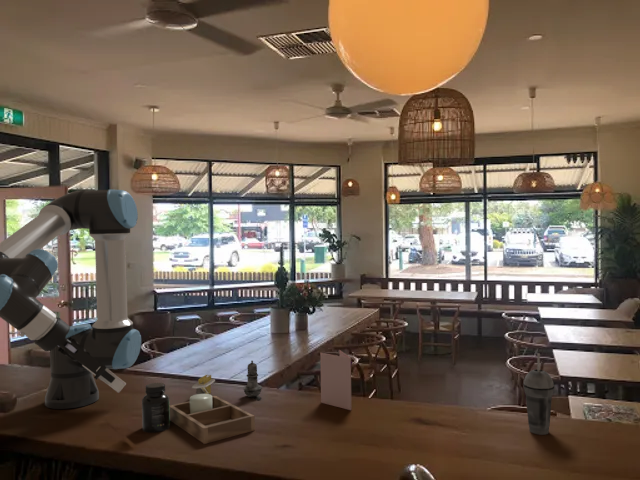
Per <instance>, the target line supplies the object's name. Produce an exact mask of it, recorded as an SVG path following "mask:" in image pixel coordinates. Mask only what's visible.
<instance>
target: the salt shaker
mask: <svg viewBox="0 0 640 480" xmlns="http://www.w3.org/2000/svg"><path fill="white" fill-rule="evenodd" d="M246 377H247V383H246V385H244V386H243V387H242V390H243V392H244V394H245V395H246V396H247V397H248V398H249V399H252V400H255V401H257V402H259V401H261V400H262V397H261V396H260V394H261V392H262V389H263V386H262V385H260V384H259V382H258V377H259V374H258V366H257V364H256V363H254V360H251V362H250V363H248V364H247V374H246Z"/></svg>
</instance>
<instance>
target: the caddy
mask: <svg viewBox="0 0 640 480" xmlns="http://www.w3.org/2000/svg"><path fill="white" fill-rule="evenodd" d="M212 407H213V409H209V410H205V411H201V412H196V413H192V414H190V400H189V401H183V402H181V403H175V404H171V405H170V404H169V408H170V422H171V423H173V424H174V425H176V426H177V427H179V428H180V429H182V430H183V431H184V432H186V433H187V434H189V435H191V436H192V437H193V438H194V439H196V440H198V441H199V442H201V443H202V444H203V445H206V444H210V443H213V442H216V441H220V440H224V439H228V438H232V437H235V436H238V435H243V434H246V433H250V432H253V431H255V430H256V424H255V422H256V419H255V418H256V415H254V414H252V413H251V412H248V411H246V410H244V409H242V408H241V407H239V406H236V405H235V404H233V403H231V402H229V401H226V400H225V399H223V398H221V397H219V396H217V395H212Z"/></svg>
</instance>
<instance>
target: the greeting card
mask: <svg viewBox="0 0 640 480" xmlns="http://www.w3.org/2000/svg"><path fill="white" fill-rule="evenodd" d="M338 351H339V355H337V354H330V353H327V352H326V353H325V352H319V353H320V402H321V404H326V405H328V406H329V405H330V406H332V407H333V406H334V407H336V408H337V407H338V408H342V409H345V410H348V411H352V365H353V361H352V359H351V358H352V357H350V356H349V355H347V354H346V353H345V352H343V351H342V350H340V349H339V350H338Z"/></svg>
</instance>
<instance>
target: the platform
mask: <svg viewBox="0 0 640 480" xmlns="http://www.w3.org/2000/svg"><path fill="white" fill-rule="evenodd" d="M214 382H216V379H215V378H212V374H209V375H208V374H205V375H204V376H202V377H200V378H199V379H198V382H197V383H195V384H193V385H192V386H191V389H195V391H196V392H195V393H196V394H210V395H211V393H212V385H211V384H213V383H214Z"/></svg>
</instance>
